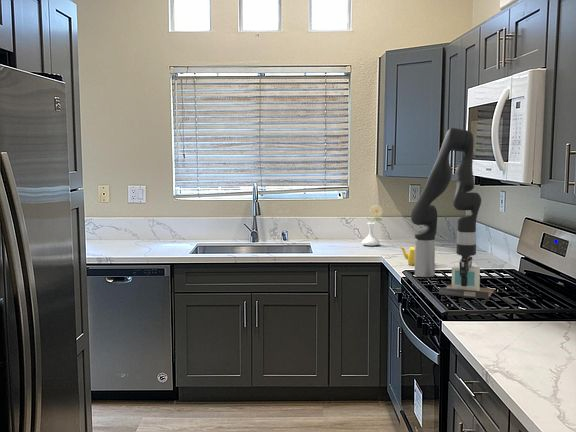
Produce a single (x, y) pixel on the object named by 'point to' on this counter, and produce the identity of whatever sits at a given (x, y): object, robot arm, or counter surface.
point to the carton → (472, 278)
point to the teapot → (410, 255)
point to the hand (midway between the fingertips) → (465, 284)
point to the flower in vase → (371, 239)
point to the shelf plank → (466, 292)
